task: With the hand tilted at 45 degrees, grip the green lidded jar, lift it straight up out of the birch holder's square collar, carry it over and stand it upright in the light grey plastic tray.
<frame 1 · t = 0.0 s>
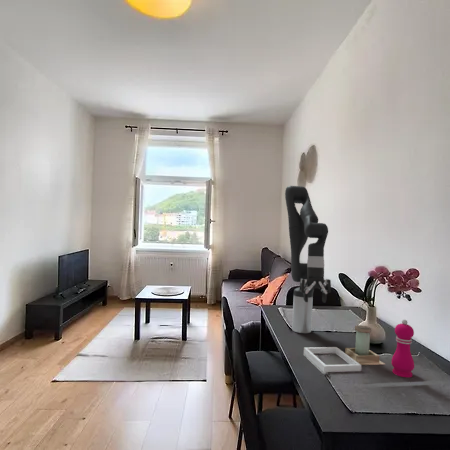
hand: (315, 302, 157), 17 cm above the table, tool pointing down, fingers open, 8 cm apart
pepper mill: (402, 376, 122), on the table
holder: (361, 360, 134), on the table
green lidded jar: (361, 358, 134), point 1 cm above the table, touching holder
tray: (330, 363, 130), on the table
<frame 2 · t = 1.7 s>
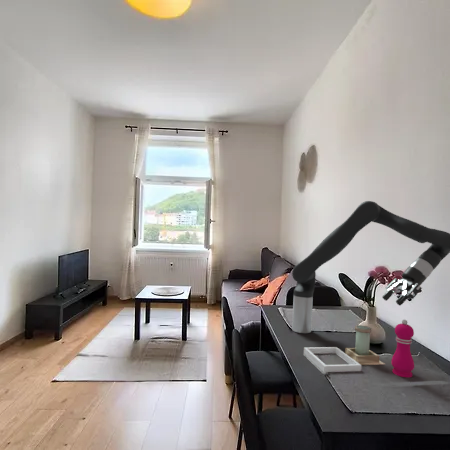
hand: (390, 301, 136), 23 cm above the table, tool tilted 45°, fingers open, 8 cm apart
nothing on the table moved.
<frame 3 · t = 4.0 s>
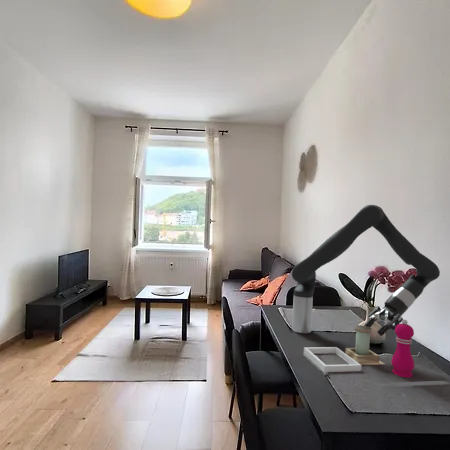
hand: (372, 330, 135), 12 cm above the table, tool tilted 45°, fingers open, 8 cm apart
nothing on the table moved.
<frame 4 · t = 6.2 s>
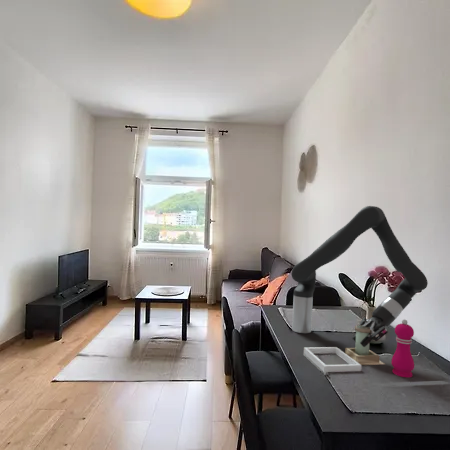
hand: (358, 342, 134), 7 cm above the table, tool tilted 45°, fingers closed on green lidded jar, 5 cm apart
green lidded jar: (361, 358, 134), point 1 cm above the table, touching gripper, holder
everything else where it was.
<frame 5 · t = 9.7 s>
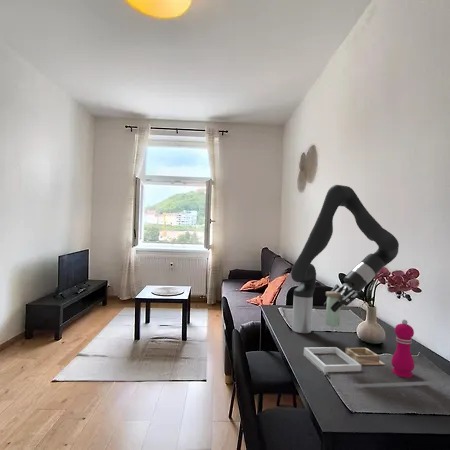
hand: (328, 308, 130), 21 cm above the table, tool tilted 45°, fingers closed on green lidded jar, 5 cm apart
green lidded jar: (332, 324, 130), point 15 cm above the table, touching gripper
everything else where it was.
when the fingers open (8 cm above the table, at t = 12.8 s): green lidded jar drops 1 cm, resting on tray.
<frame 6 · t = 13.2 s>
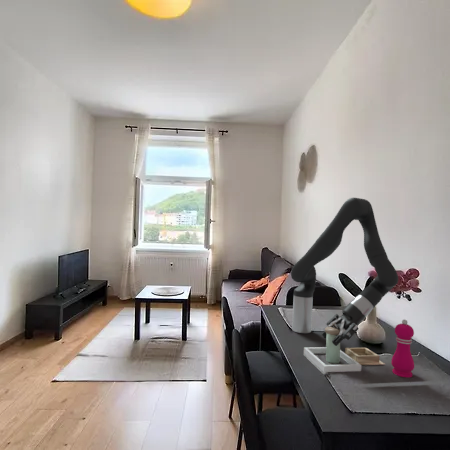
hand: (328, 340, 130), 9 cm above the table, tool tilted 45°, fingers open, 8 cm apart
green lidded jar: (332, 360, 131), point 1 cm above the table, touching tray
everything else where it was.
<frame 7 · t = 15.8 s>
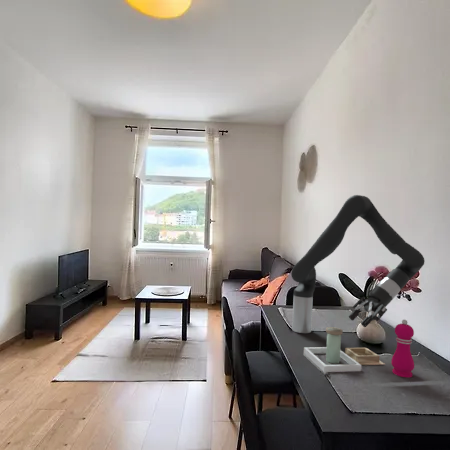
hand: (356, 322, 132), 16 cm above the table, tool tilted 45°, fingers open, 8 cm apart
nothing on the table moved.
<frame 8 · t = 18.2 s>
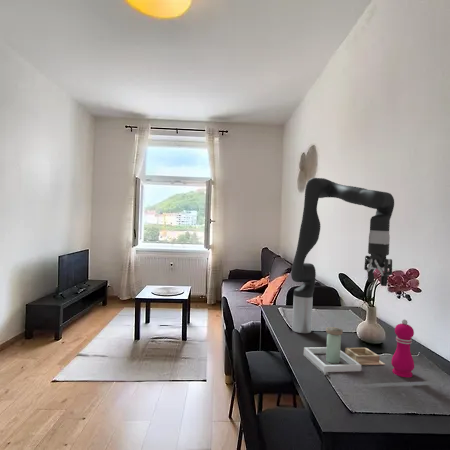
hand: (376, 283, 135), 30 cm above the table, tool pointing down, fingers open, 8 cm apart
nothing on the table moved.
at the end: green lidded jar inside the target area on the tray (1.2 cm from its centre), point 0.8 cm above the tray's base; green lidded jar tilted 0°; the gripper is holding nothing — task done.
